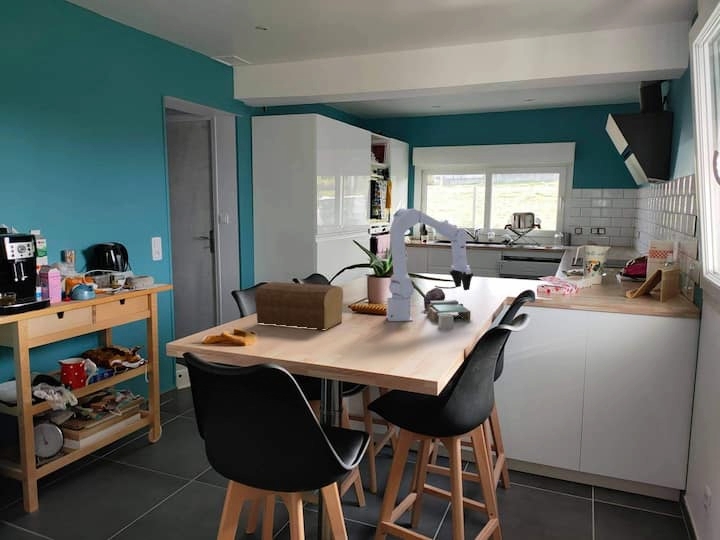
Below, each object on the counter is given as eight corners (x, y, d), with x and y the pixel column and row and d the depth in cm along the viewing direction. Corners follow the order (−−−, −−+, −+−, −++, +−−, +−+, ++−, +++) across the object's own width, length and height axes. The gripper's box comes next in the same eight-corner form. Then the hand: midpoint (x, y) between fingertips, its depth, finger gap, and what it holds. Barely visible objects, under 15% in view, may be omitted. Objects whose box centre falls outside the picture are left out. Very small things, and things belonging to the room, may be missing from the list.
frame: (426, 315, 224) (427, 303, 224) (461, 314, 225) (461, 302, 225) (434, 322, 210) (434, 310, 210) (470, 321, 212) (470, 309, 211)
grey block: (441, 329, 199) (441, 316, 198) (438, 327, 203) (438, 313, 203) (453, 329, 199) (453, 316, 199) (450, 326, 204) (450, 313, 203)
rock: (420, 313, 235) (443, 313, 232) (419, 294, 233) (442, 294, 230) (427, 304, 246) (449, 304, 242) (425, 286, 244) (448, 286, 240)
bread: (278, 316, 225) (277, 278, 223) (344, 322, 214) (343, 281, 212) (254, 326, 208) (252, 284, 206) (324, 332, 197) (323, 288, 195)
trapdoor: (430, 306, 226) (430, 300, 226) (455, 305, 227) (455, 300, 227) (439, 314, 209) (439, 308, 209) (467, 314, 210) (467, 308, 210)
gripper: (476, 257, 220) (479, 289, 222) (460, 253, 234) (463, 283, 236) (460, 259, 218) (463, 292, 220) (445, 255, 232) (448, 286, 234)
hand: (462, 288), depth 228 cm, fingers open, 7 cm apart
